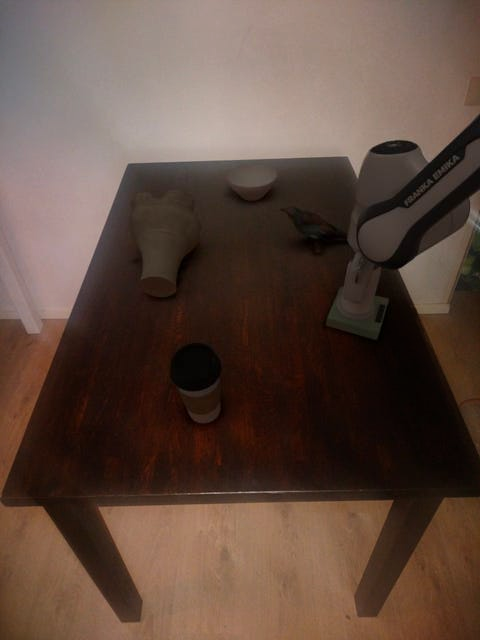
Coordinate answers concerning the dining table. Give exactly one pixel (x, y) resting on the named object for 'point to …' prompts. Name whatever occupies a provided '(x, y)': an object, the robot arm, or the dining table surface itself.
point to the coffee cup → (198, 380)
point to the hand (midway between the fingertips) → (359, 289)
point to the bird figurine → (313, 226)
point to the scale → (358, 317)
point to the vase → (163, 237)
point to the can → (369, 295)
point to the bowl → (252, 180)
